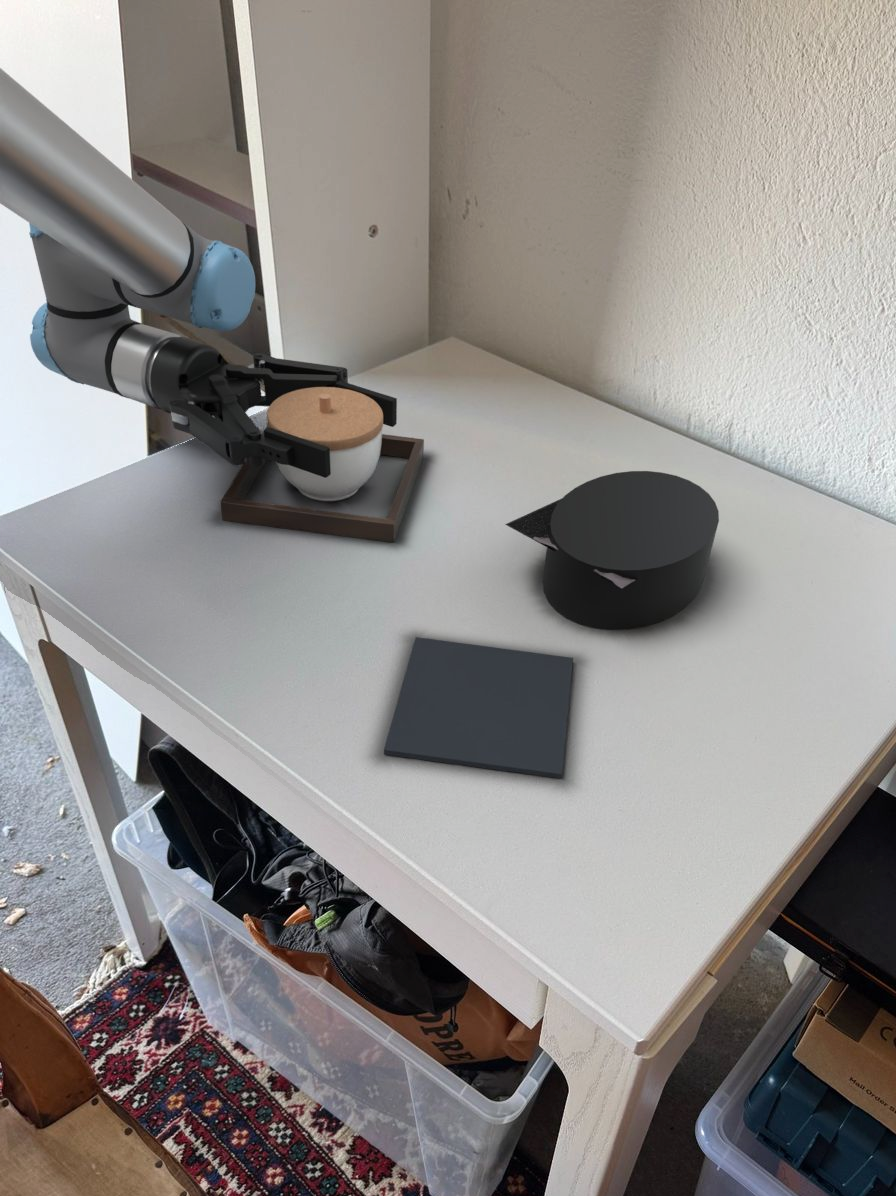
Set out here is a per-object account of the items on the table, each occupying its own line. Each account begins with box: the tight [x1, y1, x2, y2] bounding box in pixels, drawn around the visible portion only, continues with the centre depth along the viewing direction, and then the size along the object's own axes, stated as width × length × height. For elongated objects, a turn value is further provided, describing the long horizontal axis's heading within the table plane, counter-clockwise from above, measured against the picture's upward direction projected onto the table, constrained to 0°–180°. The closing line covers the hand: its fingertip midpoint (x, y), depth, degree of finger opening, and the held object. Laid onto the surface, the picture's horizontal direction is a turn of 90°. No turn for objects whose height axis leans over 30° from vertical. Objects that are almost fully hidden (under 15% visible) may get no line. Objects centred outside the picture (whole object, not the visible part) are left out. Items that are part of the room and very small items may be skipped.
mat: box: [383, 636, 574, 779], centre depth 78 cm, size 13×13×1 cm
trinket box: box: [266, 387, 384, 502], centre depth 96 cm, size 11×11×9 cm
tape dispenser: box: [504, 470, 720, 631], centre depth 90 cm, size 14×18×8 cm
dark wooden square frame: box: [219, 423, 425, 543], centre depth 99 cm, size 16×16×2 cm
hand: (362, 436), depth 94 cm, fingers closed on trinket box, 11 cm apart
